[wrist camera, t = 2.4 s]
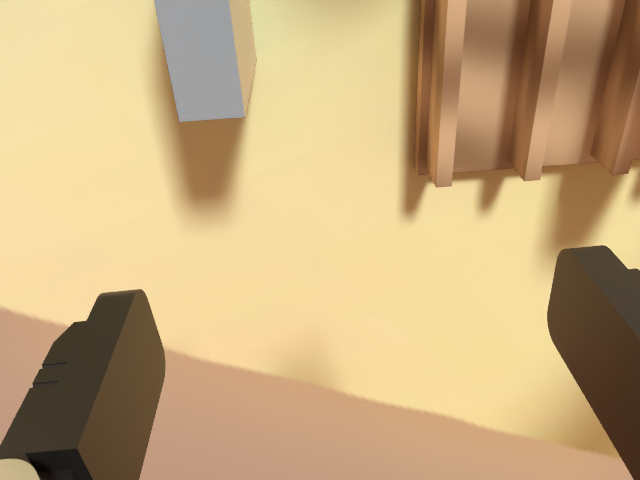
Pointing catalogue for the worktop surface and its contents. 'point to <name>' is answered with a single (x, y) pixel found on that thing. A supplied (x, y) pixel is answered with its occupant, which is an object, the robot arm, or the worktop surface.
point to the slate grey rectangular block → (208, 56)
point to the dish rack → (527, 86)
